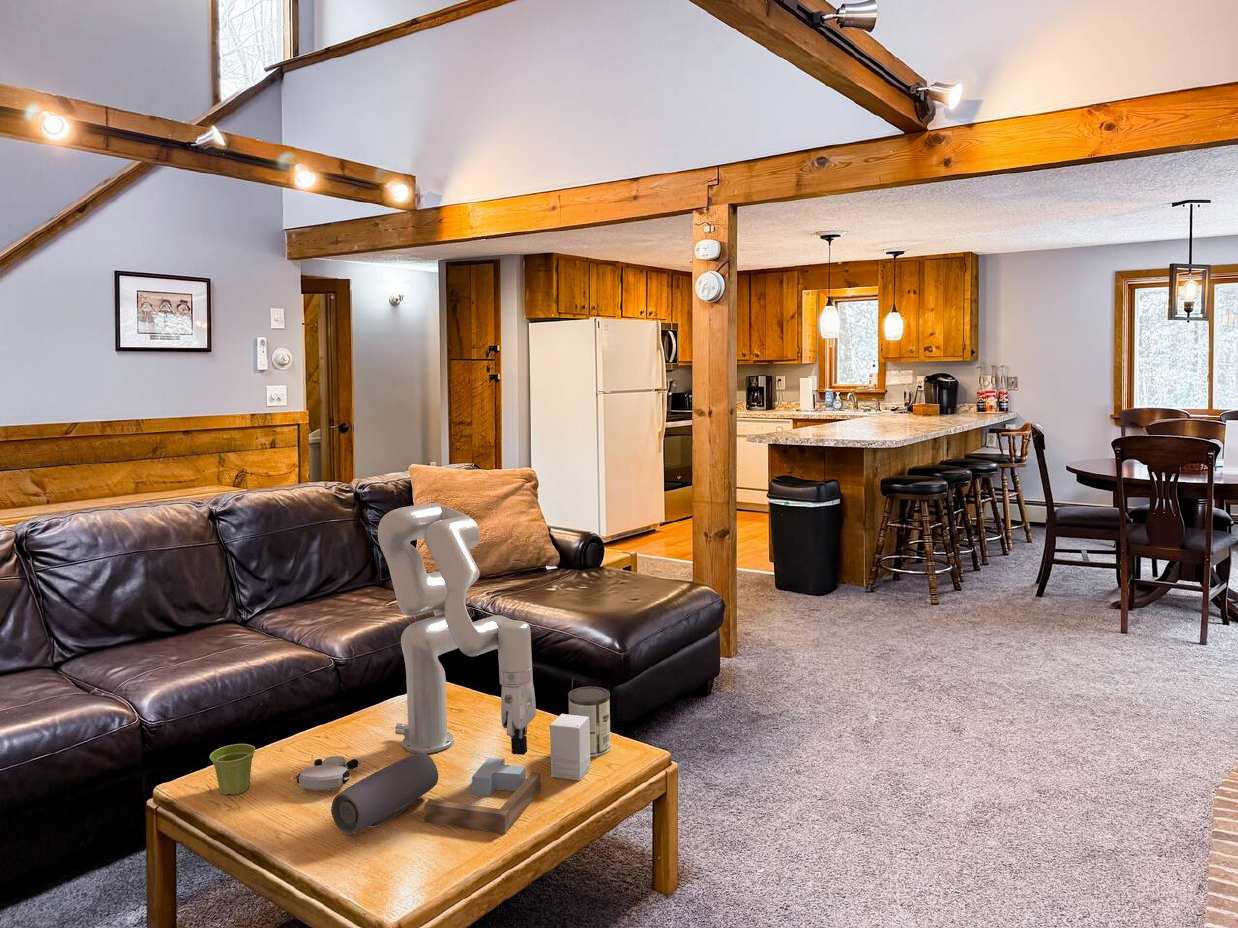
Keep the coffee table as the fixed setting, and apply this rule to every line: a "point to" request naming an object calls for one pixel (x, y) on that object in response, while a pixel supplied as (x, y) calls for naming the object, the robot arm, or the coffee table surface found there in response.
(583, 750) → the supplement box
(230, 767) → the plant pot
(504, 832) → the walnut fence
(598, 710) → the coffee can
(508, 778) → the tee block
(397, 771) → the bluetooth speaker
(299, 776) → the robot toy
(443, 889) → the coffee table surface
